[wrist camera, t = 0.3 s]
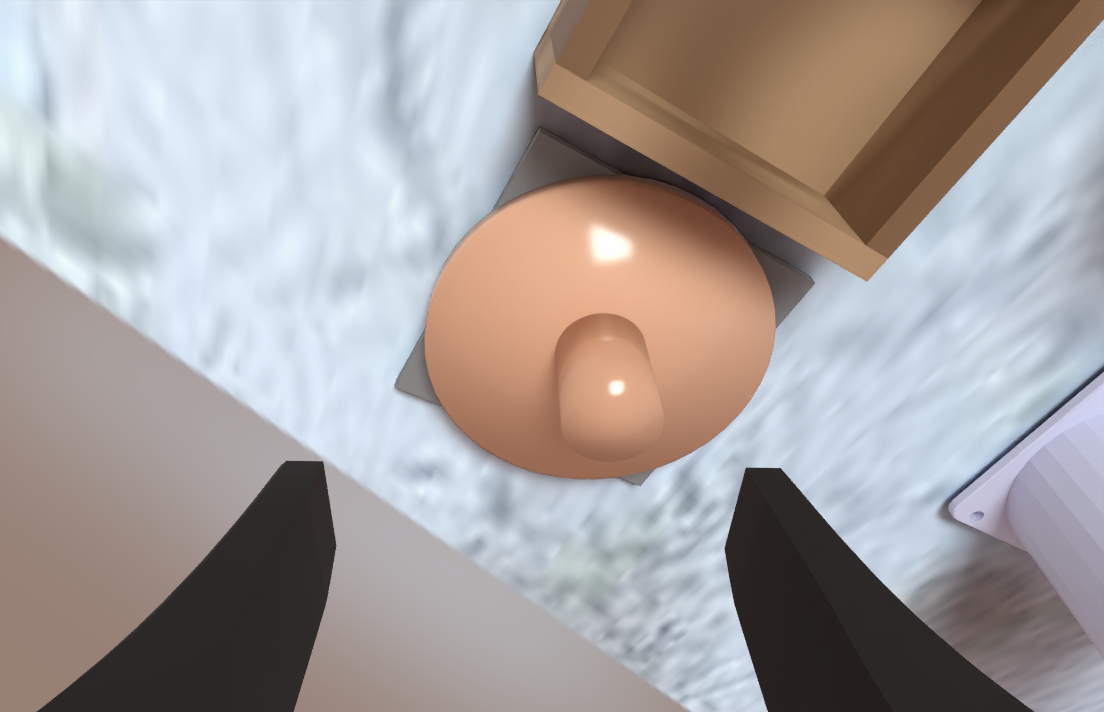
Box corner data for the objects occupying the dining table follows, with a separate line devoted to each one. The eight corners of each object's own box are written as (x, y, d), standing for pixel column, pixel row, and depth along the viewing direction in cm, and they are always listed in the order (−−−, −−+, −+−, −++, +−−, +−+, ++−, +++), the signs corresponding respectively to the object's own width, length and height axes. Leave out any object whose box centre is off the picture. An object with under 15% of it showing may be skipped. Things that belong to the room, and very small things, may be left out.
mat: (810, 276, 22) (815, 283, 22) (638, 477, 26) (640, 486, 26) (539, 126, 19) (539, 131, 19) (396, 379, 24) (394, 387, 23)
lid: (839, 276, 22) (898, 357, 19) (644, 499, 27) (662, 594, 23) (532, 103, 19) (537, 163, 15) (372, 392, 23) (350, 485, 20)
